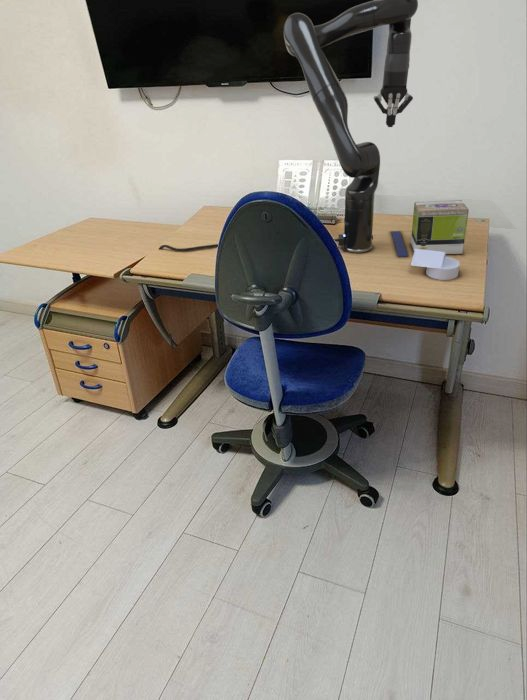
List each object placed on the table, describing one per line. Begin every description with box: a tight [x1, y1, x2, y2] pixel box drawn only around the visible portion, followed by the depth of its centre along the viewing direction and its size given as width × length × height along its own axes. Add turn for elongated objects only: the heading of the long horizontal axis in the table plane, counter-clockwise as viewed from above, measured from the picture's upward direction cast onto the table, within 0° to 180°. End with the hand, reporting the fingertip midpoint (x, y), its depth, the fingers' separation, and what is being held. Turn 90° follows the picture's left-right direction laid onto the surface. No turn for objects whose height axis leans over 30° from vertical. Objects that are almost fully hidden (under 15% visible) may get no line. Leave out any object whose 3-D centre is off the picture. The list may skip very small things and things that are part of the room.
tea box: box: [410, 199, 470, 255], centre depth 161 cm, size 15×10×15 cm
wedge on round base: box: [410, 249, 461, 281], centre depth 149 cm, size 9×7×13 cm
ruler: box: [391, 230, 408, 258], centre depth 170 cm, size 3×22×1 cm, turn 173°
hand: (389, 126), depth 170 cm, fingers closed
